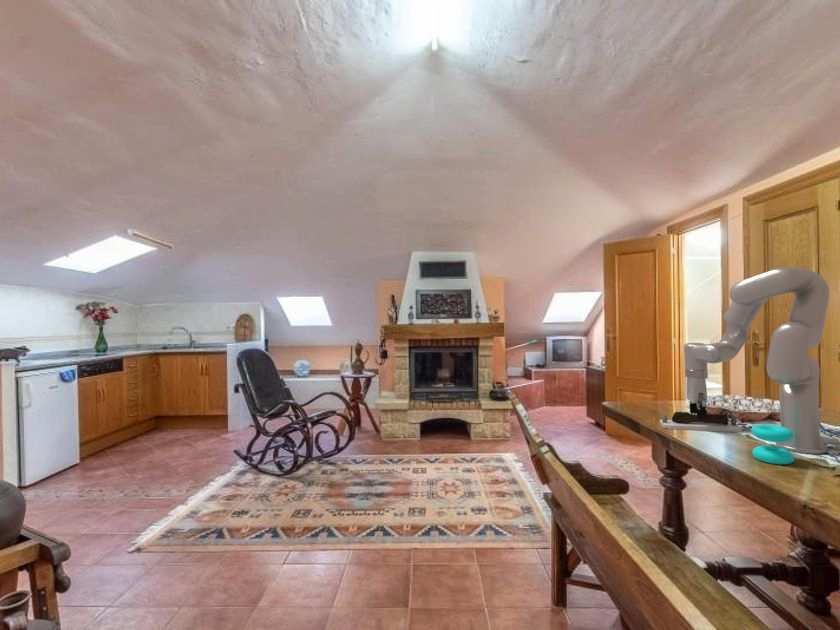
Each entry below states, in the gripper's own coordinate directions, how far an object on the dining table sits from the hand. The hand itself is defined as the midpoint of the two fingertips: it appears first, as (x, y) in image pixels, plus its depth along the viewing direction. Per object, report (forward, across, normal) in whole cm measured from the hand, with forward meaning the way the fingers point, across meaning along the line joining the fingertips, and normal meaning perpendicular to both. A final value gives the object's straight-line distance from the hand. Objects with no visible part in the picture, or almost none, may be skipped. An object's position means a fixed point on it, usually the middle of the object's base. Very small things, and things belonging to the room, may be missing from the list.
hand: (698, 416), depth 164 cm
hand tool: (+3, +1, 0) cm, 3 cm away
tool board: (+4, 0, 0) cm, 4 cm away
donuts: (+5, +35, +10) cm, 37 cm away
